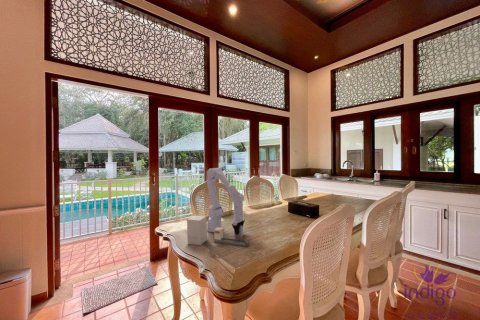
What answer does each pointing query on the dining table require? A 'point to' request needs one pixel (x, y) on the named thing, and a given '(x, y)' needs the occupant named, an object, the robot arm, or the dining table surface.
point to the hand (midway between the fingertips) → (238, 232)
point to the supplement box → (197, 230)
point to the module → (240, 232)
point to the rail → (233, 241)
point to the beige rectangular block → (218, 233)
